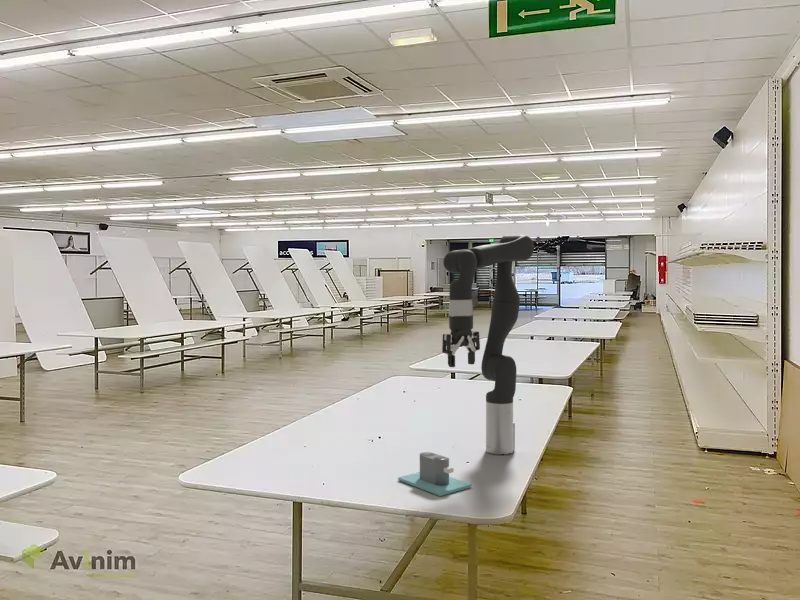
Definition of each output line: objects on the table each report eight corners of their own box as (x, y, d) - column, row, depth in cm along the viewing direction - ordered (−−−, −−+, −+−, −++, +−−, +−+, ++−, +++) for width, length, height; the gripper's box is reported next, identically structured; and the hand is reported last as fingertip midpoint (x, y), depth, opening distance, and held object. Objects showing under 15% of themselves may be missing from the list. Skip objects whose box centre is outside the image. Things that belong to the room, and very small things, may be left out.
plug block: (427, 474, 183) (427, 451, 183) (456, 485, 174) (456, 460, 173) (416, 477, 180) (416, 453, 180) (444, 488, 171) (444, 463, 171)
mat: (429, 472, 188) (429, 469, 188) (471, 487, 174) (471, 484, 174) (398, 480, 181) (398, 477, 181) (440, 496, 167) (440, 493, 167)
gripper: (468, 312, 202) (469, 362, 202) (436, 314, 193) (436, 366, 193) (485, 313, 196) (486, 364, 196) (452, 315, 187) (453, 369, 187)
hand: (461, 365), depth 195 cm, fingers open, 8 cm apart
